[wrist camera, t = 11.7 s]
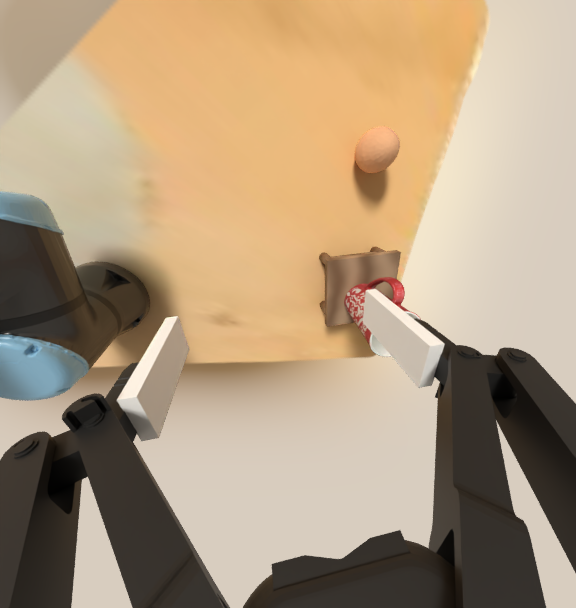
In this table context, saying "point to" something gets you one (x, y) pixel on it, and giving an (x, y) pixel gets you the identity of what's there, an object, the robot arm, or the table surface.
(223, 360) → the table surface
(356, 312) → the mug
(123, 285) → the robot arm
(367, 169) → the egg
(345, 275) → the stool
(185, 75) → the table surface
